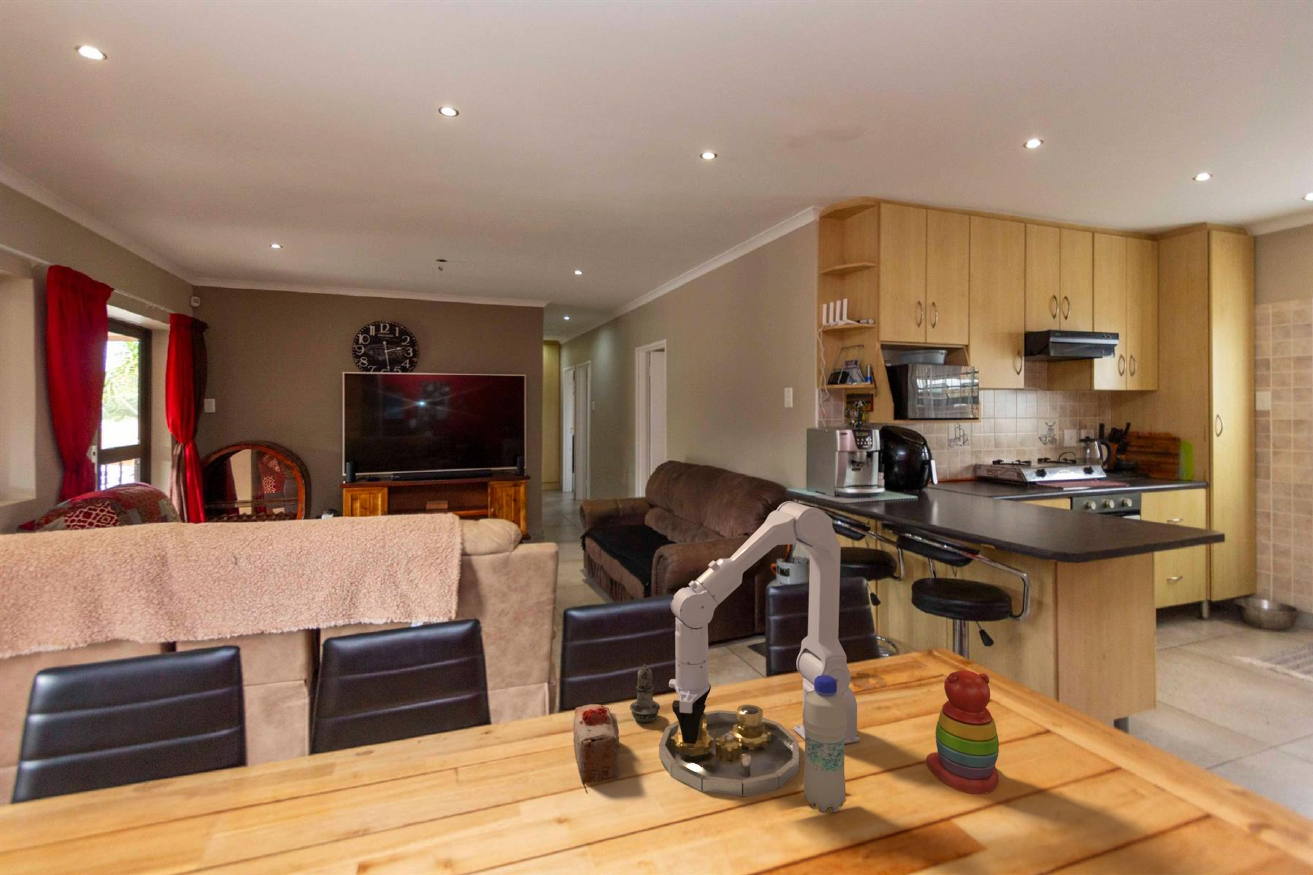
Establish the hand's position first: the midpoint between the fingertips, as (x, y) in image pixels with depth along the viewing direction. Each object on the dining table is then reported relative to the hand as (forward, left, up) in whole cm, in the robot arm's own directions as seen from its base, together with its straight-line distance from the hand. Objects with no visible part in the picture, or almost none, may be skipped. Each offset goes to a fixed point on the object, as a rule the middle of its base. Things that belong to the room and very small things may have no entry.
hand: (692, 734), depth 112 cm
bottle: (-14, +19, -4) cm, 24 cm away
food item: (+16, -3, -4) cm, 17 cm away
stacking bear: (-41, +20, -4) cm, 46 cm away
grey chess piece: (+4, -14, -4) cm, 15 cm away
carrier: (-6, +3, -4) cm, 8 cm away
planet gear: (0, 0, -2) cm, 2 cm away
